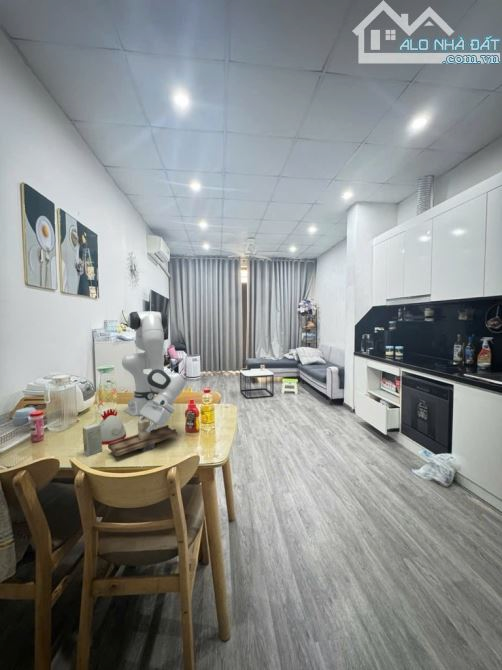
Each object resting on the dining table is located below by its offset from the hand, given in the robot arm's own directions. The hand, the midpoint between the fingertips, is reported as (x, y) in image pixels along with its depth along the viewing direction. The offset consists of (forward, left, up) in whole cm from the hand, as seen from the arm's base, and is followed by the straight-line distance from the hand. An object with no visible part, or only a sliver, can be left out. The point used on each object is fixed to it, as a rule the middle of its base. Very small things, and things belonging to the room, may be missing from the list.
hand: (142, 428), depth 122 cm
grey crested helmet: (-22, -4, -9) cm, 24 cm away
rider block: (0, +1, -5) cm, 5 cm away
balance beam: (0, +1, -9) cm, 9 cm away
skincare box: (-14, -16, -9) cm, 23 cm away
